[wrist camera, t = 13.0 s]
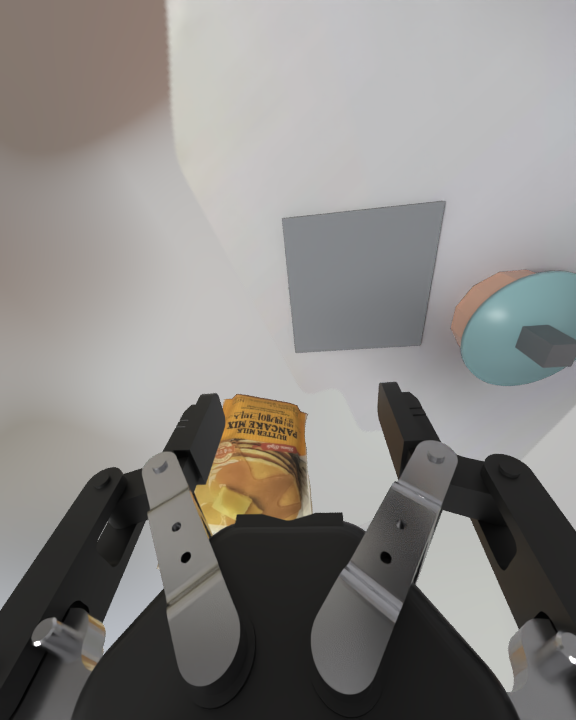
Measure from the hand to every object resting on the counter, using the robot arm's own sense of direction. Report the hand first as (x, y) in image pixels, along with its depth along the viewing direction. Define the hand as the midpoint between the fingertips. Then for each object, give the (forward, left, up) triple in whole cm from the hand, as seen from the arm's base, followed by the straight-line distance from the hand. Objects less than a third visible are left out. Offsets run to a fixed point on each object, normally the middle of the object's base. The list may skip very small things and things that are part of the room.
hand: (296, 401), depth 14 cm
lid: (+10, +29, -24) cm, 39 cm away
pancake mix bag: (+27, -9, -30) cm, 41 cm away
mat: (+4, +8, -30) cm, 31 cm away
